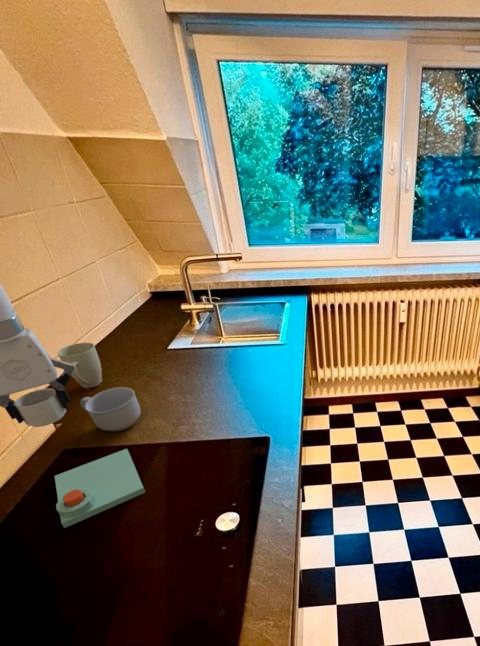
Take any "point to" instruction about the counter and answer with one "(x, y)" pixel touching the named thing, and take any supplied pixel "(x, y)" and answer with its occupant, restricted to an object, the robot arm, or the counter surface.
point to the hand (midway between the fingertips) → (43, 411)
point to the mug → (83, 363)
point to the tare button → (73, 498)
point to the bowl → (40, 407)
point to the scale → (98, 486)
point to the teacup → (113, 408)
